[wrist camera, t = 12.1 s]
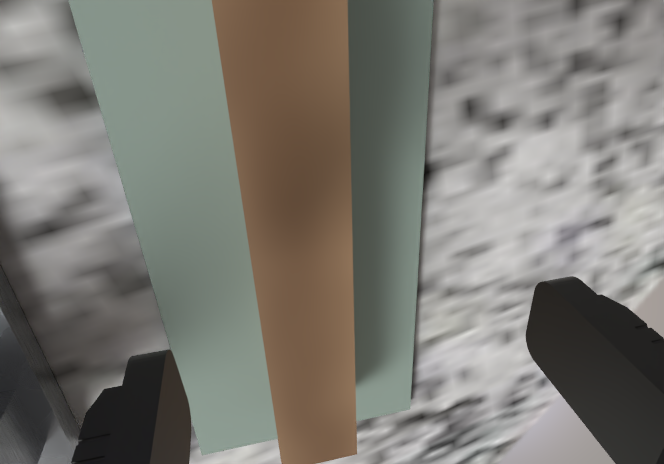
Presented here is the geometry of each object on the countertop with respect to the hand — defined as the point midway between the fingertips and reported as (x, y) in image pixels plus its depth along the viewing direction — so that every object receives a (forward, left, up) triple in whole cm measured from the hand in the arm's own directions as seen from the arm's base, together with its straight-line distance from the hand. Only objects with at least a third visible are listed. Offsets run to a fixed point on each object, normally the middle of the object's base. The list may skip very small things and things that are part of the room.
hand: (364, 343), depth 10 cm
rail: (+1, 0, -7) cm, 7 cm away
